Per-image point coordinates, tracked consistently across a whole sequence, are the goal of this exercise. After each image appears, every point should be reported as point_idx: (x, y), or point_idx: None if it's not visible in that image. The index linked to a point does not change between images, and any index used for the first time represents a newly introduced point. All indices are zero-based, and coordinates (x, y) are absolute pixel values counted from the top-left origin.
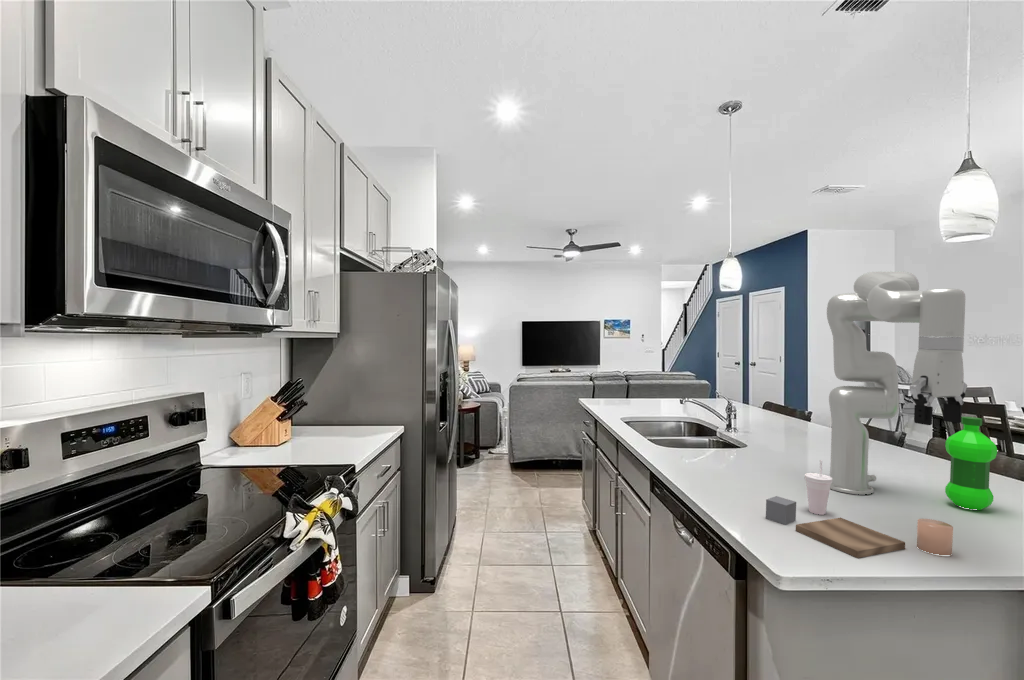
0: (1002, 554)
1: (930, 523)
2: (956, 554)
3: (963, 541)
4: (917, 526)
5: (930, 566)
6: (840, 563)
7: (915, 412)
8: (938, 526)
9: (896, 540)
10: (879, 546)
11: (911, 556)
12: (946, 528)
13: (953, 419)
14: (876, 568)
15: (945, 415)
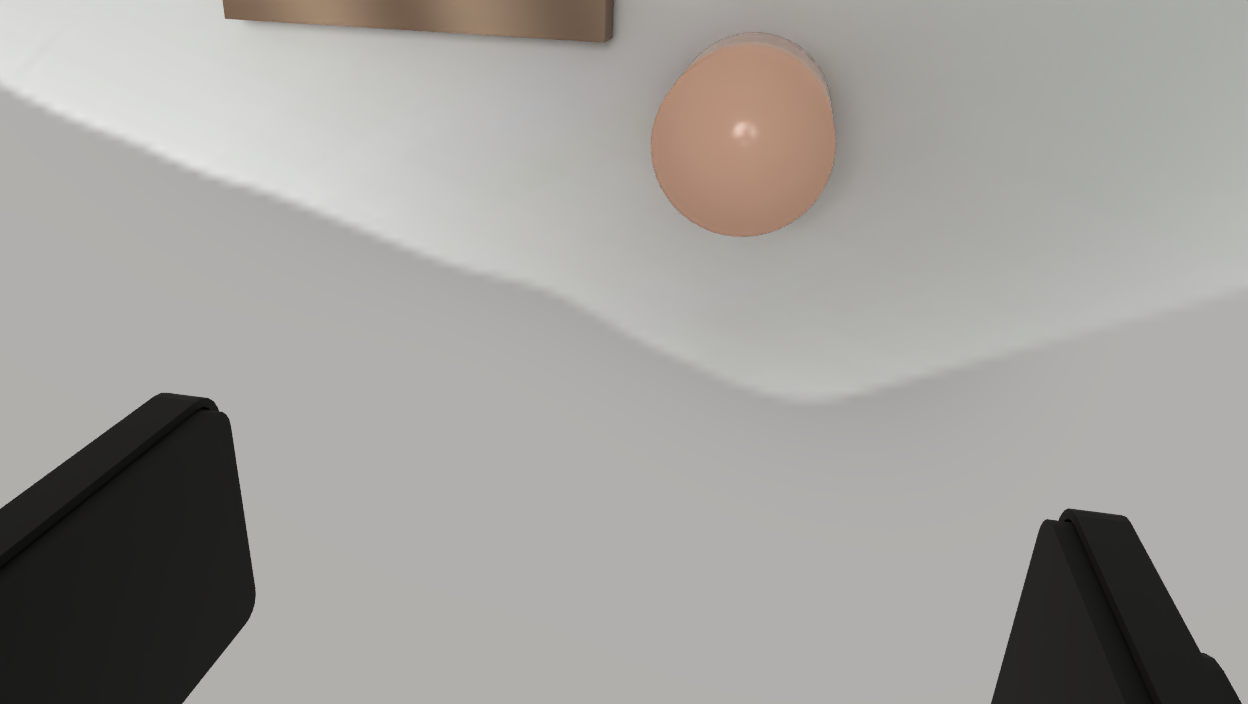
0: (1057, 291)
1: (716, 134)
2: None
3: (1095, 109)
4: (696, 63)
5: (514, 212)
6: (118, 20)
7: (32, 509)
8: (707, 183)
9: (577, 6)
10: (395, 23)
11: (543, 110)
12: (714, 221)
13: (1017, 695)
14: (243, 123)
15: (1061, 619)
